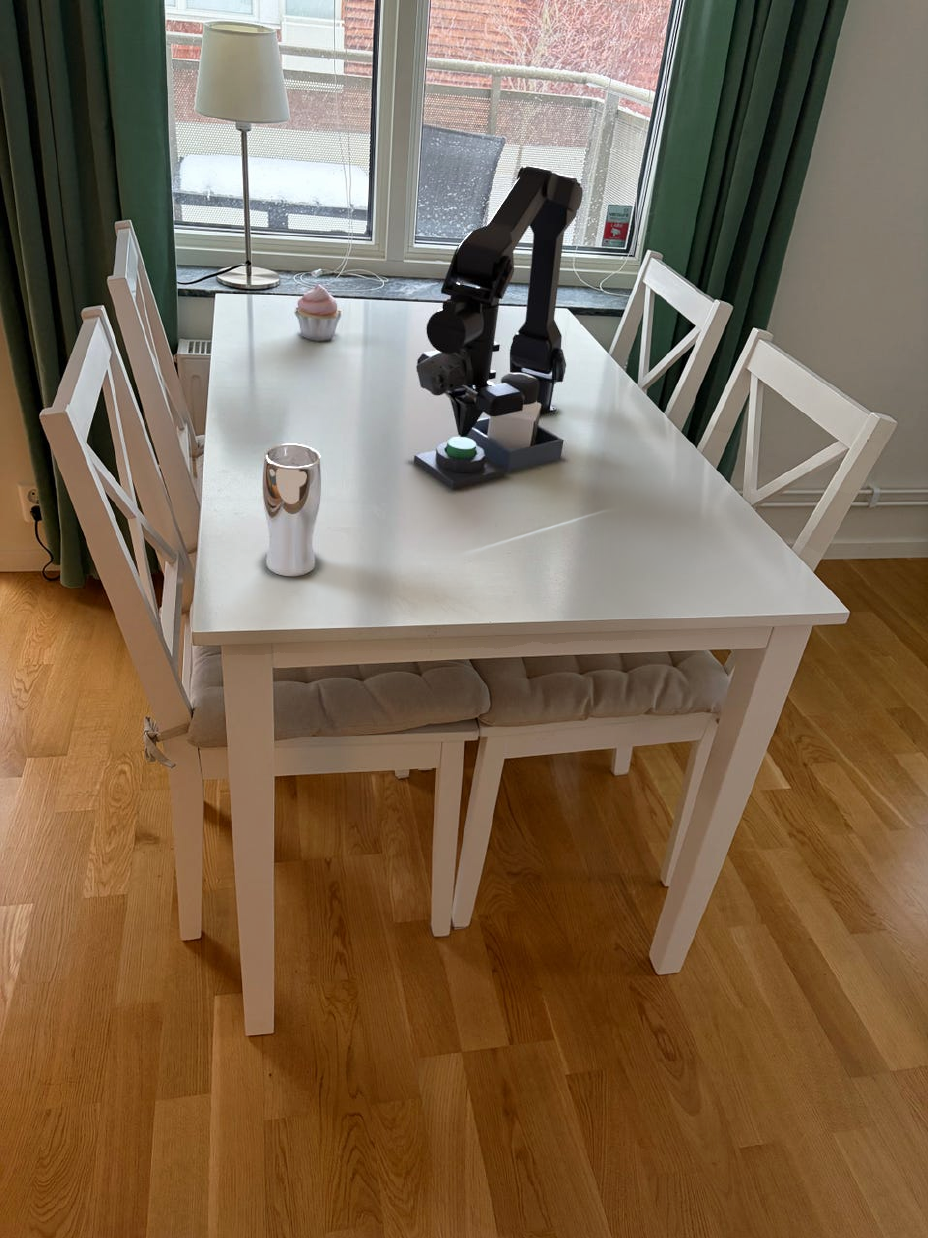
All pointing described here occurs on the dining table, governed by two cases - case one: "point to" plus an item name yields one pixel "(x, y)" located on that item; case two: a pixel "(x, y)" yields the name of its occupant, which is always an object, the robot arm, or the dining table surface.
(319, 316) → the cupcake
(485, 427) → the blue-grey tray
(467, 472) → the control panel
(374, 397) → the dining table surface
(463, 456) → the button
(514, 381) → the medicine bottle
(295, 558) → the beer glass
